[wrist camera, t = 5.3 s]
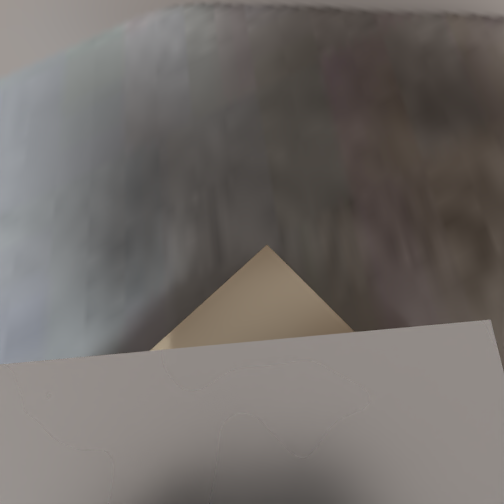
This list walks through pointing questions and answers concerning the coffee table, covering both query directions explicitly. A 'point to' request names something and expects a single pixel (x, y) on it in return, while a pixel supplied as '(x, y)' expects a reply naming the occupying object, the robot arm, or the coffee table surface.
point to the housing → (262, 422)
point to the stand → (257, 309)
